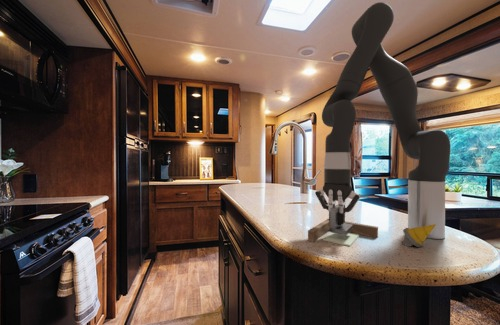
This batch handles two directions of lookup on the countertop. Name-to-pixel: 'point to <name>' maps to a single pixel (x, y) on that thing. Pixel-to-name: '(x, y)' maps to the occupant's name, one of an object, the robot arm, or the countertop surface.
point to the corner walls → (357, 229)
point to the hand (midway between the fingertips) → (336, 224)
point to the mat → (341, 238)
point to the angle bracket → (334, 222)
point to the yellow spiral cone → (417, 235)
